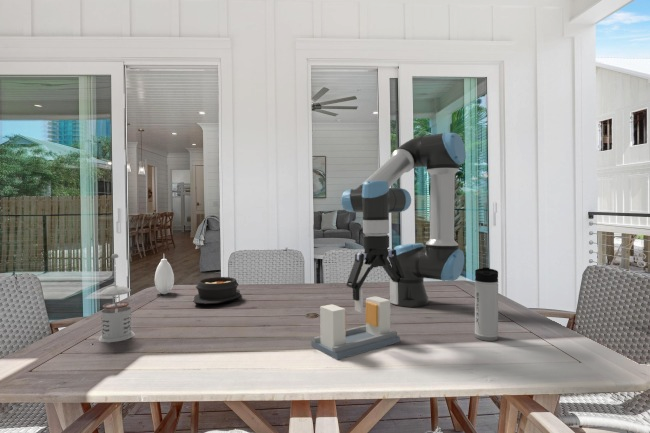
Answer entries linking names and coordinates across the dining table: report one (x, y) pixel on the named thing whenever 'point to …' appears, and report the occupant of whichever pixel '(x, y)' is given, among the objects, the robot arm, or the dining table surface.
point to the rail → (346, 335)
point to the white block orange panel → (377, 315)
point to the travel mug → (486, 304)
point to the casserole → (216, 290)
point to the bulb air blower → (164, 277)
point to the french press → (116, 315)
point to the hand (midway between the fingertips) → (377, 307)
